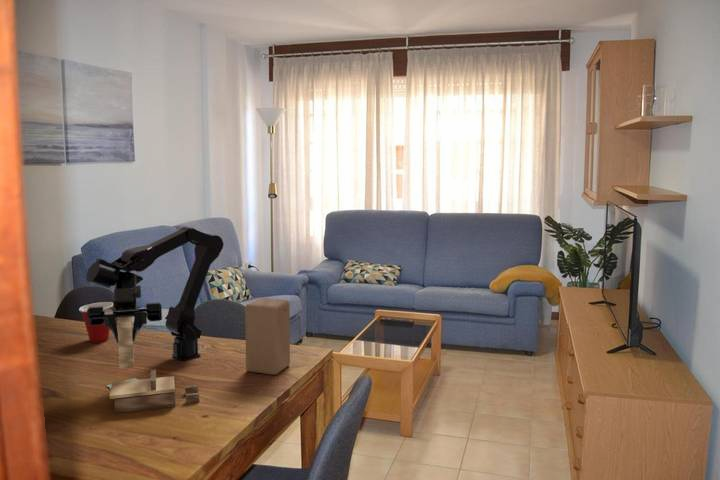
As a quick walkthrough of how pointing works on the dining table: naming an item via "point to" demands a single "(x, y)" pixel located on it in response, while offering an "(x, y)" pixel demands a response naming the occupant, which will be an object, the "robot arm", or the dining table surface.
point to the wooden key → (125, 342)
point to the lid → (142, 386)
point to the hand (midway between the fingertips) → (125, 341)
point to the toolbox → (153, 400)
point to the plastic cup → (98, 331)
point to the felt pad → (126, 380)
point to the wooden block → (267, 335)
